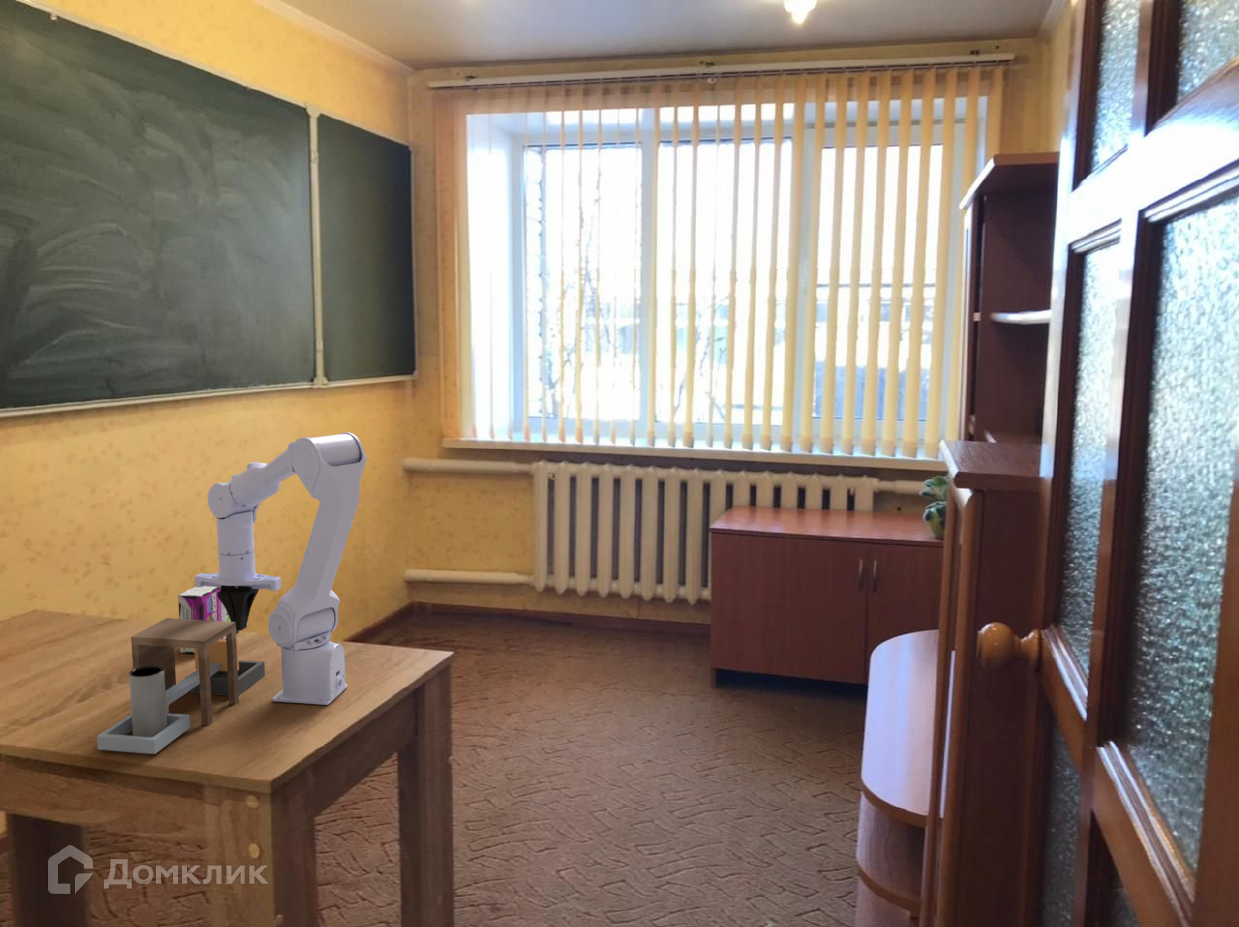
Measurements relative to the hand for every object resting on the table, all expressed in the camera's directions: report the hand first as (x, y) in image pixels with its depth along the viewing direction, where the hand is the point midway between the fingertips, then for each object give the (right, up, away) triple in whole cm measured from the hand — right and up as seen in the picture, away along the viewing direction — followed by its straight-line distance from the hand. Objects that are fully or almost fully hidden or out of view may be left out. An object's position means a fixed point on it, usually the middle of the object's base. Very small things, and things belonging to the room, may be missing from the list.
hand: (240, 628), depth 160 cm
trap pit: (-1, -9, -4) cm, 9 cm away
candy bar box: (-13, -1, +9) cm, 15 cm away
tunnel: (-2, -10, -14) cm, 18 cm away
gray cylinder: (-3, -12, -24) cm, 27 cm away
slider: (-2, -10, -18) cm, 21 cm away
